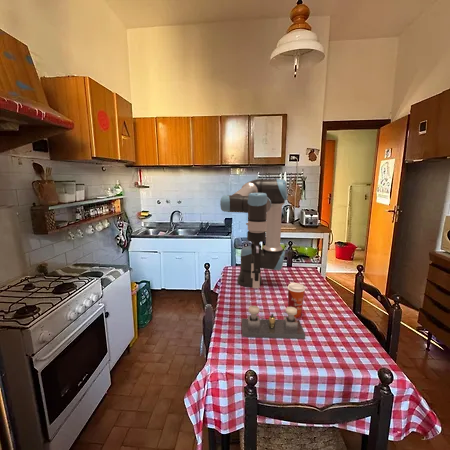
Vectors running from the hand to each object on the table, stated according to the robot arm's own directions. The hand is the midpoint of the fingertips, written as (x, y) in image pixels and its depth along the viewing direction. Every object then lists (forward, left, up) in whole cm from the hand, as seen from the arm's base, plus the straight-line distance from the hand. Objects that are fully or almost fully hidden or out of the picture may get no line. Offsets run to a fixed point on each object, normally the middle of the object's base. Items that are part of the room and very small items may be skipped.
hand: (255, 282), depth 112 cm
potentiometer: (0, +8, -20) cm, 21 cm away
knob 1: (0, 0, -16) cm, 16 cm away
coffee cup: (-14, +21, -22) cm, 33 cm away
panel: (0, +8, -22) cm, 23 cm away
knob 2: (0, +16, -16) cm, 23 cm away
